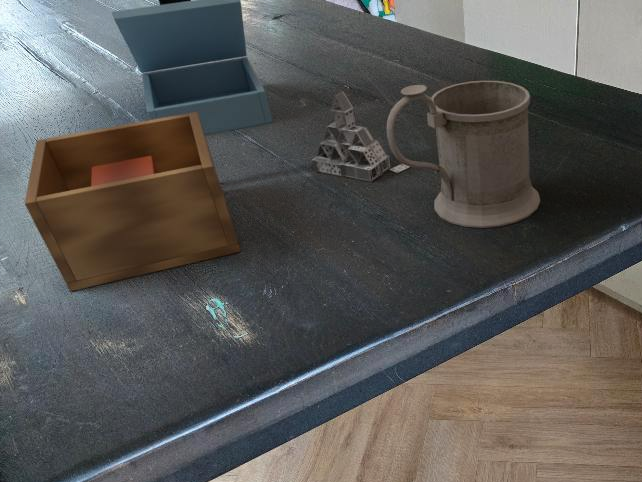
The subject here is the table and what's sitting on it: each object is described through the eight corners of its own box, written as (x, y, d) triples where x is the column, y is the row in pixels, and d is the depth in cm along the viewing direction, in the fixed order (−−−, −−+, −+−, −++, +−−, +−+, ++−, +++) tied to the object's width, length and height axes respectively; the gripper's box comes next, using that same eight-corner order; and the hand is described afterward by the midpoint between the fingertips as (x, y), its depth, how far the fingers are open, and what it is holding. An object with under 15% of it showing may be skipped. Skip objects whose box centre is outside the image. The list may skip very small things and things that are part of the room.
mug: (493, 170, 73) (485, 43, 65) (561, 201, 67) (561, 66, 59) (372, 219, 66) (347, 84, 58) (437, 259, 60) (419, 115, 52)
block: (114, 242, 63) (90, 189, 60) (114, 218, 67) (91, 166, 63) (174, 229, 65) (154, 176, 61) (171, 206, 68) (151, 155, 65)
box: (274, 128, 84) (265, 91, 81) (160, 150, 81) (146, 111, 78) (256, 91, 94) (246, 56, 92) (154, 109, 91) (141, 73, 88)
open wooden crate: (70, 292, 59) (24, 203, 54) (74, 220, 68) (35, 140, 63) (240, 252, 63) (212, 165, 58) (222, 190, 72) (197, 111, 67)
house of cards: (430, 151, 77) (421, 77, 72) (384, 185, 71) (371, 107, 66) (361, 140, 80) (348, 68, 75) (312, 171, 75) (294, 96, 70)
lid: (240, 1, 77) (238, -6, 77) (113, 19, 73) (111, 11, 73) (246, 56, 91) (244, 49, 91) (141, 73, 88) (139, 66, 88)
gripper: (73, -191, 72) (142, 10, 84) (69, -187, 62) (148, 42, 74) (153, -196, 74) (208, 1, 86) (162, -193, 64) (224, 31, 76)
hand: (180, 19), depth 80 cm, fingers closed
